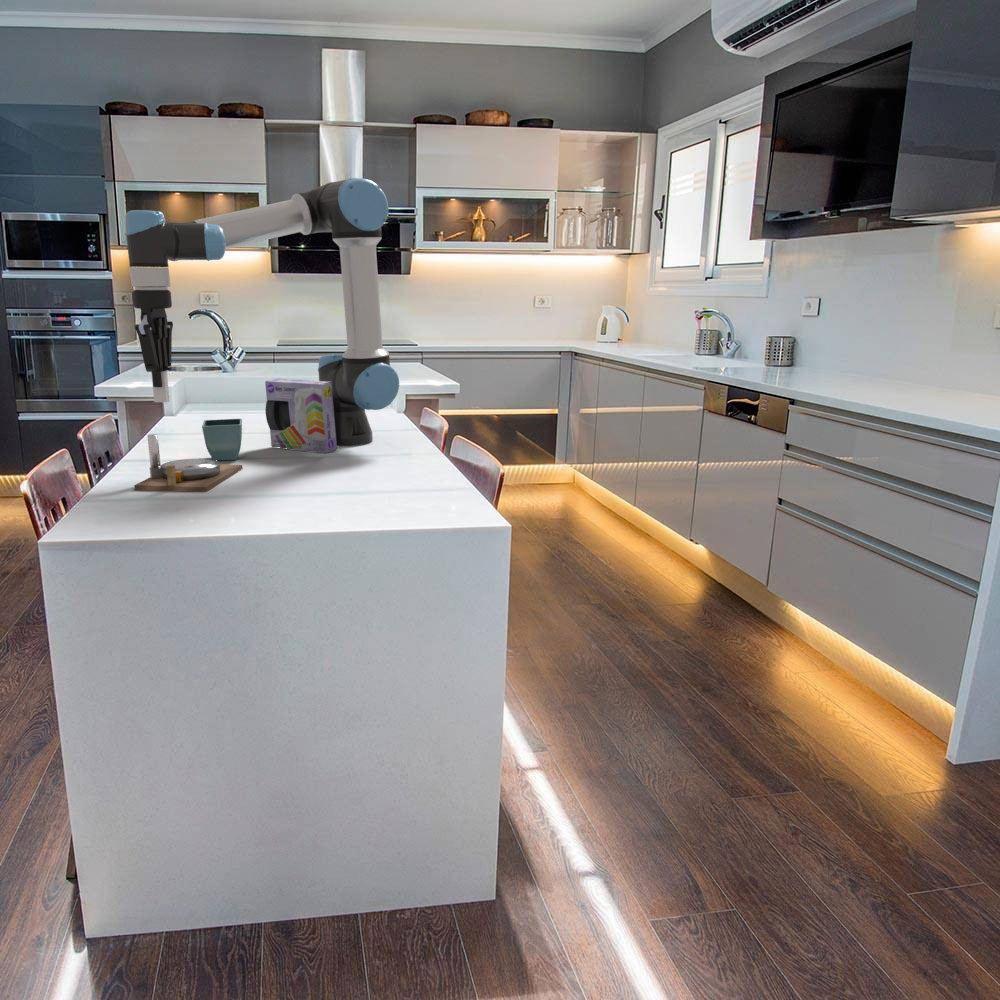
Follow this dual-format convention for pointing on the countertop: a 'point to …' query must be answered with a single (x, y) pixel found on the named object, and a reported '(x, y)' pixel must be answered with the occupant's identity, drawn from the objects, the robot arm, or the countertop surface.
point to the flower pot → (223, 438)
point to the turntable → (180, 465)
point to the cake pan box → (301, 415)
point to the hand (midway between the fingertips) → (162, 401)
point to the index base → (187, 485)
